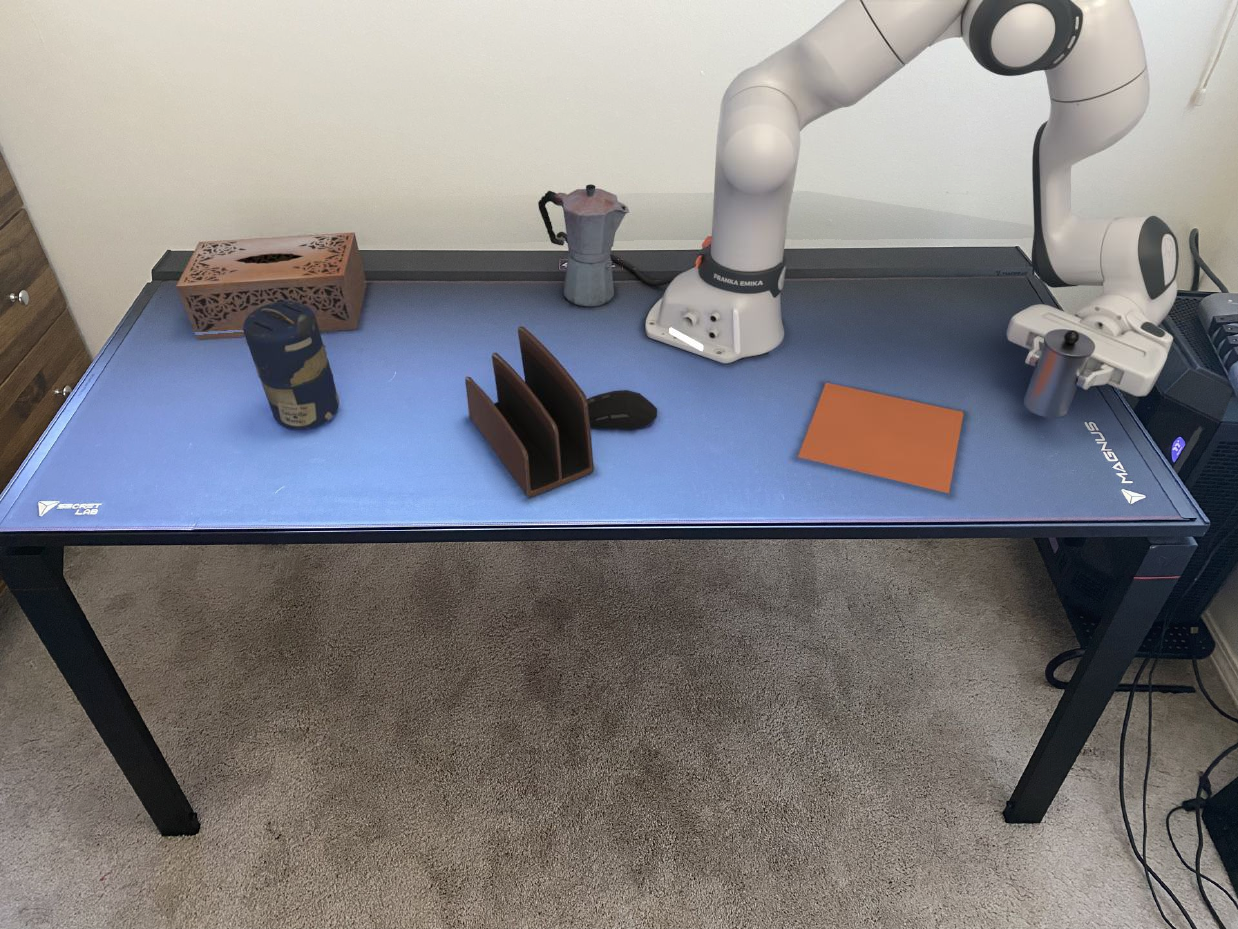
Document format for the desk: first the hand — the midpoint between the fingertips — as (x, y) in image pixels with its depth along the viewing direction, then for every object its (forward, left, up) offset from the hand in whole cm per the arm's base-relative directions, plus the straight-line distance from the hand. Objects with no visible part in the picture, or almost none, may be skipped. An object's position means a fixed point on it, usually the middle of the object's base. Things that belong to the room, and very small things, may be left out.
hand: (1056, 372), depth 120 cm
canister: (-99, -34, -10) cm, 105 cm away
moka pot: (-74, +11, -10) cm, 75 cm away
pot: (0, +1, -6) cm, 6 cm away
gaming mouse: (-58, -19, -10) cm, 62 cm away
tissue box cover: (-120, -12, -10) cm, 121 cm away
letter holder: (-65, -29, -10) cm, 72 cm away
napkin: (-20, -9, -10) cm, 24 cm away
